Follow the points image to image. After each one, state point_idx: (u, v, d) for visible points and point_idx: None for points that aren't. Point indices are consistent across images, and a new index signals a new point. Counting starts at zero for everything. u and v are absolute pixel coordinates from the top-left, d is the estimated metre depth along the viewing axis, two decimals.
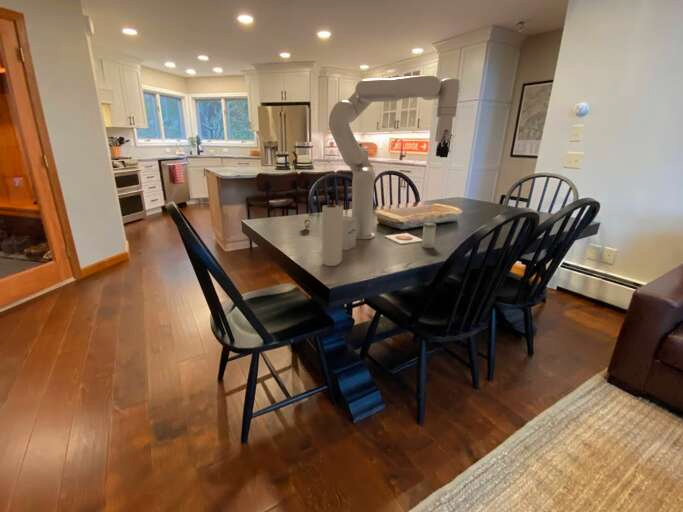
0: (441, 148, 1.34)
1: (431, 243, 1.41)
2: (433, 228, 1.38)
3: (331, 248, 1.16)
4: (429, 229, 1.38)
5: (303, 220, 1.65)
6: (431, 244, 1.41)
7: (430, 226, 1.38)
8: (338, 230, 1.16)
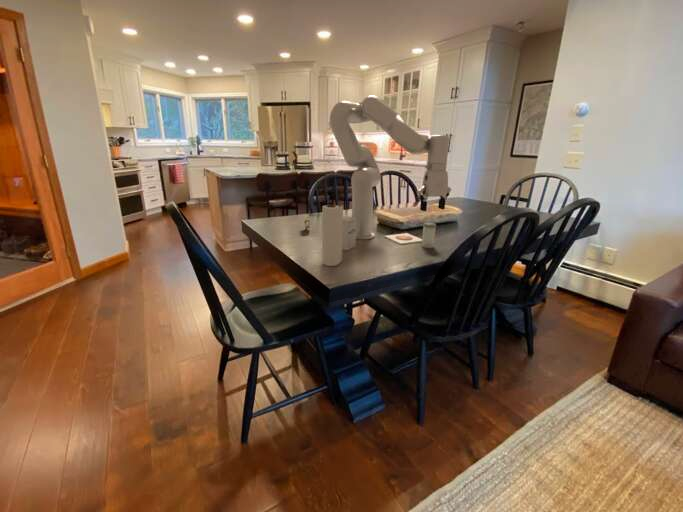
0: None
1: (431, 243, 1.41)
2: (433, 228, 1.38)
3: (331, 248, 1.16)
4: (429, 229, 1.38)
5: (303, 220, 1.64)
6: (431, 244, 1.41)
7: (430, 226, 1.38)
8: (338, 230, 1.16)
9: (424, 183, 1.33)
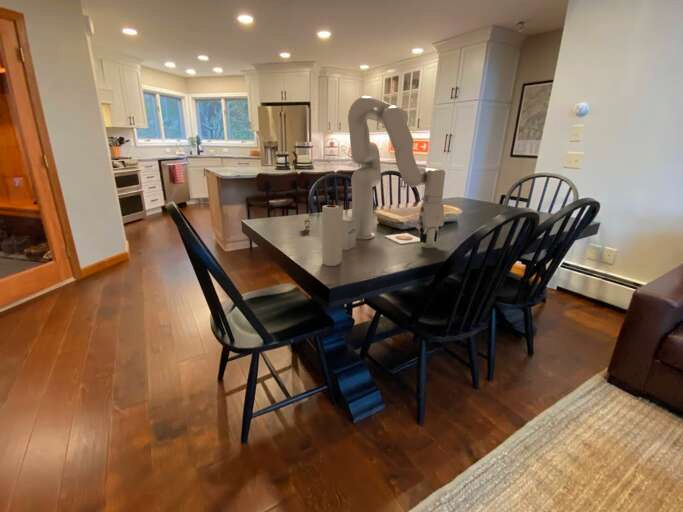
0: None
1: (431, 243, 1.41)
2: (433, 228, 1.38)
3: (331, 248, 1.16)
4: (429, 229, 1.38)
5: (303, 220, 1.64)
6: (431, 244, 1.41)
7: None
8: (338, 230, 1.16)
9: (421, 214, 1.37)
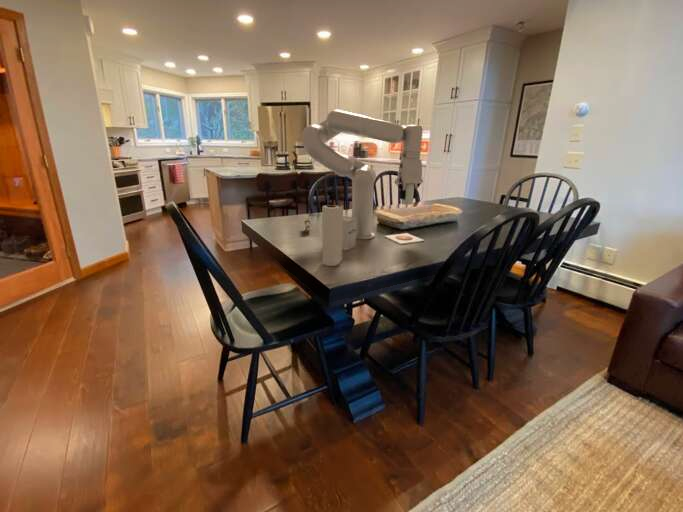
0: None
1: (410, 199, 1.45)
2: (412, 184, 1.43)
3: (331, 248, 1.16)
4: (408, 185, 1.43)
5: None
6: (410, 201, 1.45)
7: None
8: (338, 230, 1.16)
9: (399, 170, 1.41)
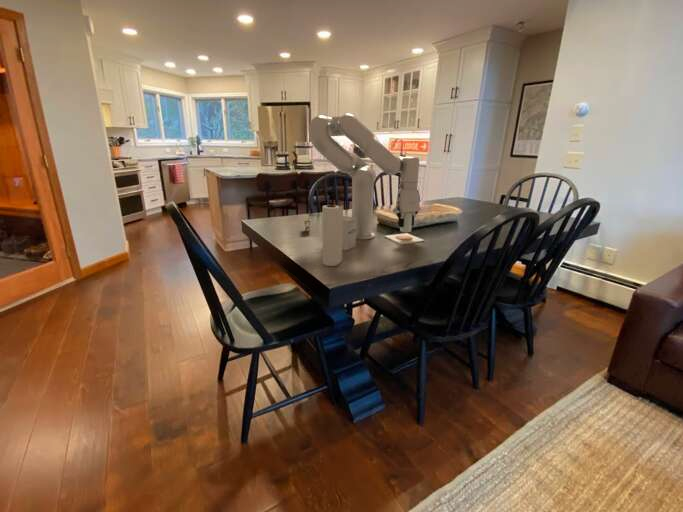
0: None
1: (408, 227, 1.49)
2: (410, 213, 1.47)
3: (331, 248, 1.16)
4: (406, 214, 1.47)
5: None
6: (408, 228, 1.49)
7: None
8: (338, 230, 1.16)
9: (397, 200, 1.45)
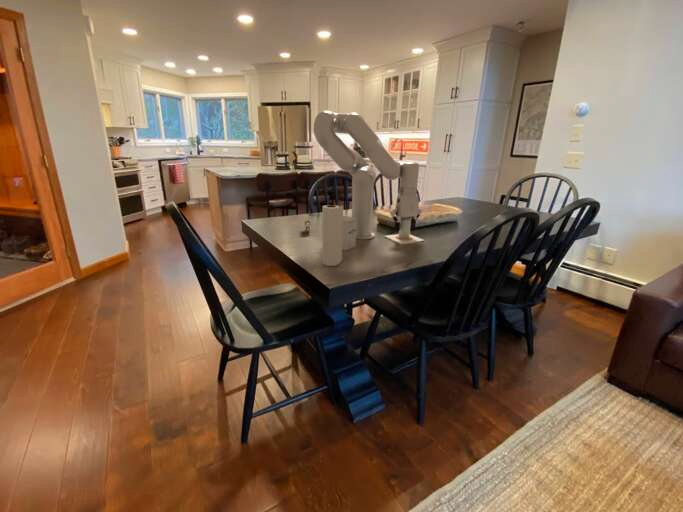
0: None
1: (407, 234, 1.50)
2: (408, 220, 1.48)
3: (331, 248, 1.16)
4: (405, 221, 1.48)
5: None
6: (407, 235, 1.50)
7: (405, 218, 1.47)
8: (338, 230, 1.16)
9: (397, 205, 1.46)
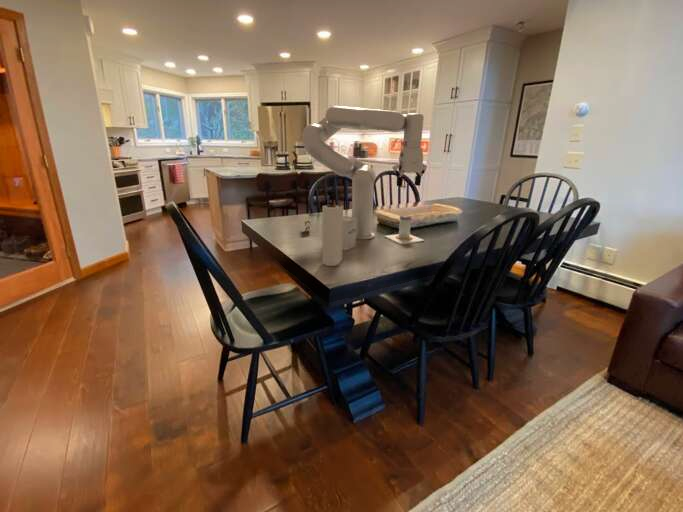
0: None
1: (407, 234, 1.50)
2: (408, 220, 1.48)
3: (331, 248, 1.16)
4: (405, 221, 1.48)
5: None
6: (407, 235, 1.50)
7: (406, 218, 1.47)
8: (338, 230, 1.16)
9: (400, 159, 1.40)
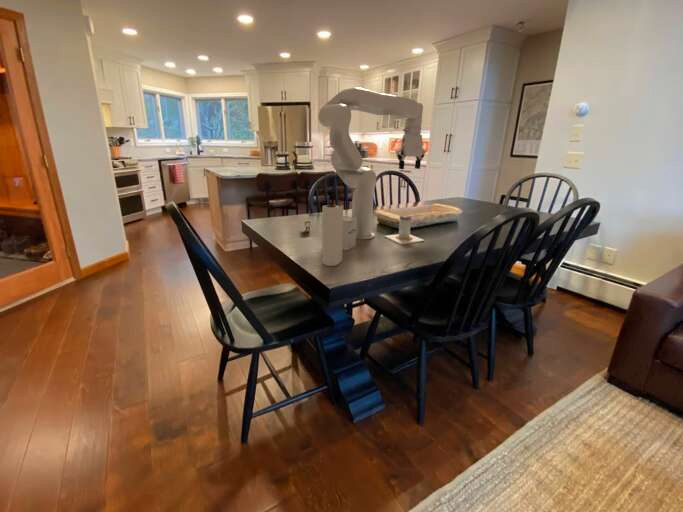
0: None
1: (407, 234, 1.50)
2: (408, 220, 1.48)
3: (331, 248, 1.16)
4: (405, 221, 1.48)
5: None
6: (407, 235, 1.50)
7: (405, 218, 1.47)
8: (338, 230, 1.16)
9: (402, 144, 1.56)
